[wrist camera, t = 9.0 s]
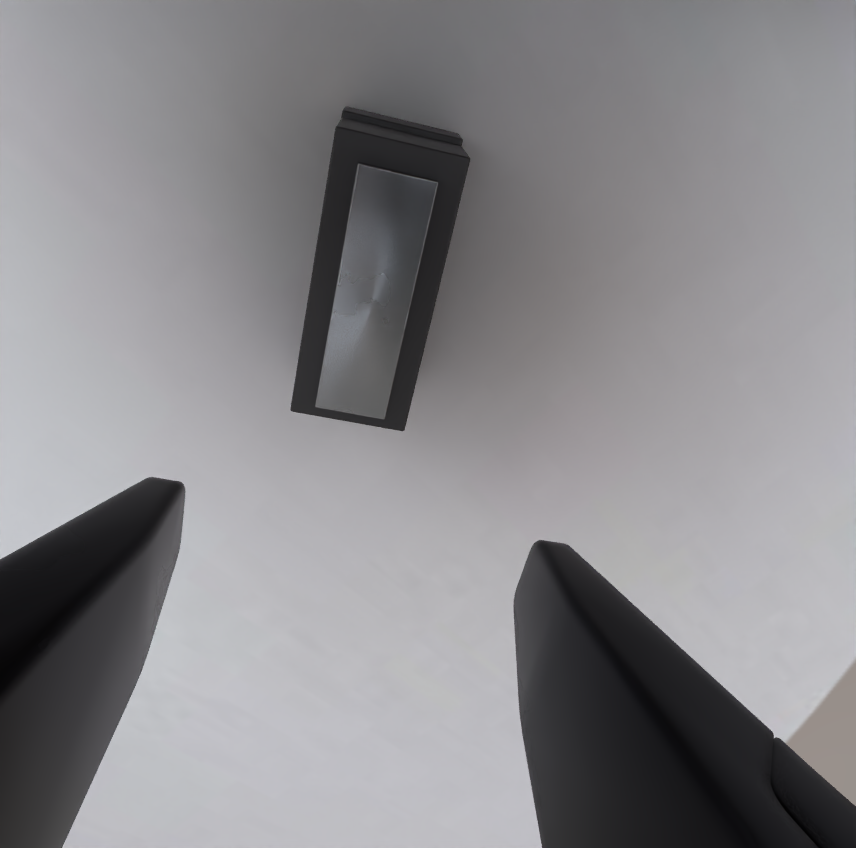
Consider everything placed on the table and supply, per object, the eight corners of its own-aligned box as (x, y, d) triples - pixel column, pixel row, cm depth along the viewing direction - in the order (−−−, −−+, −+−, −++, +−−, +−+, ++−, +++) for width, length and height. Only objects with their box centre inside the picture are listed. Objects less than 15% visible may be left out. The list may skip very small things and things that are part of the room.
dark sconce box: (345, 105, 18) (335, 119, 15) (459, 133, 19) (473, 152, 16) (301, 371, 22) (286, 429, 19) (399, 389, 22) (401, 449, 19)
